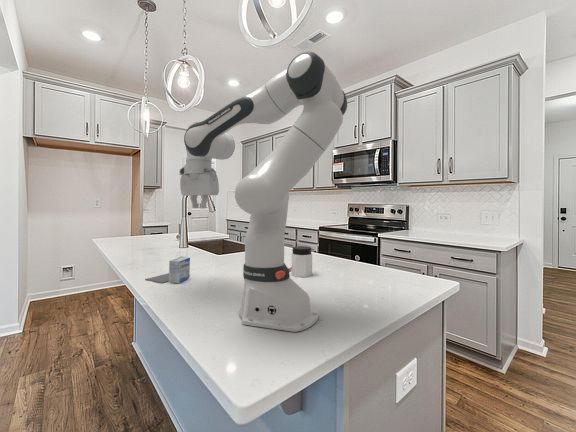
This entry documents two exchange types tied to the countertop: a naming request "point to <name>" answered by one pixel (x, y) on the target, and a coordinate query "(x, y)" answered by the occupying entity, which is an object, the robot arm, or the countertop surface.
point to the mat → (160, 278)
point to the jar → (301, 261)
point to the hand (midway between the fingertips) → (199, 208)
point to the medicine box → (179, 269)
